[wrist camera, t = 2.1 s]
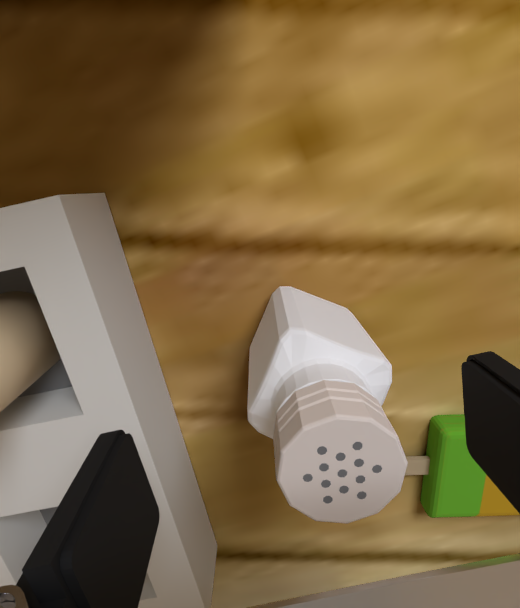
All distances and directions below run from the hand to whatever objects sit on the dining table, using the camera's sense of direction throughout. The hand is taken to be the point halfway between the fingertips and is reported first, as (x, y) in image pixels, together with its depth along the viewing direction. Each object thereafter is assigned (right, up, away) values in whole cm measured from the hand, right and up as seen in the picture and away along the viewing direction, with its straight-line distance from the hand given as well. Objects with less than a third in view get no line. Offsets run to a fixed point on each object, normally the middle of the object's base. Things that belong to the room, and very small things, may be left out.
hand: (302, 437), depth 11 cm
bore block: (-11, -2, +9) cm, 14 cm away
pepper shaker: (+1, +2, +8) cm, 8 cm away
